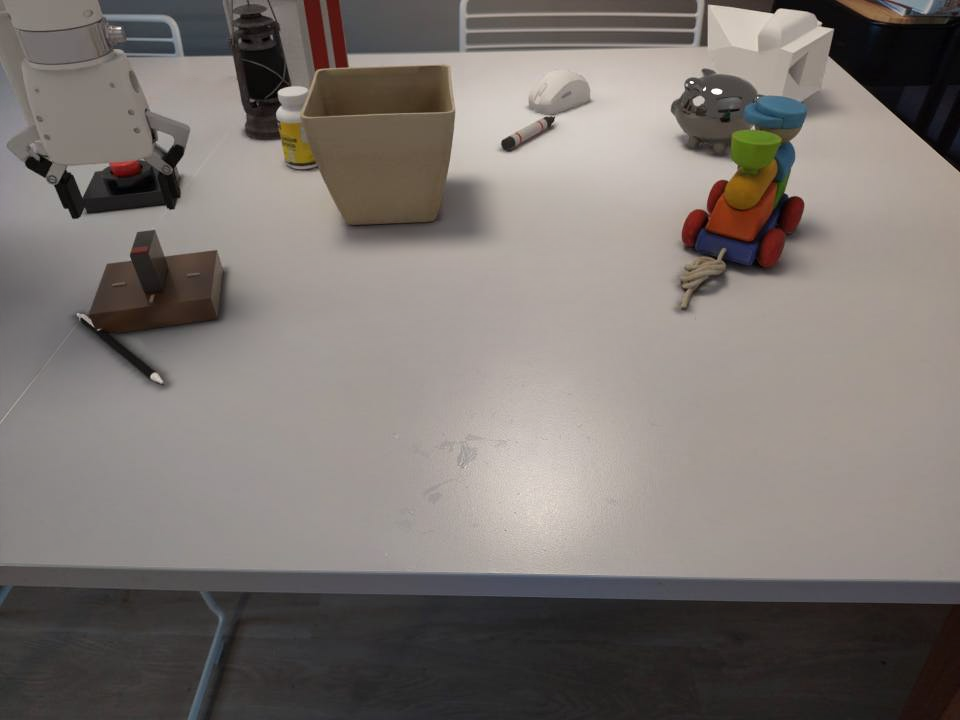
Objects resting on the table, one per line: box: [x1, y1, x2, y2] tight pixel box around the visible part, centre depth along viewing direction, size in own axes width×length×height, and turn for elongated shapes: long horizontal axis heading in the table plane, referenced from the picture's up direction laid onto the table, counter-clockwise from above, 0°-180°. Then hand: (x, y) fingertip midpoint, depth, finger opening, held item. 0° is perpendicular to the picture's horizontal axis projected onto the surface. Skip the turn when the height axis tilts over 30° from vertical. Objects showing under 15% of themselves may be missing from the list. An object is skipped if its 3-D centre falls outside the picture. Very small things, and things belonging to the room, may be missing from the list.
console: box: [88, 249, 224, 335], centre depth 81 cm, size 13×11×3 cm
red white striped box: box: [221, 0, 350, 102], centre depth 133 cm, size 16×18×27 cm
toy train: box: [679, 95, 809, 310], centre depth 83 cm, size 12×29×17 cm, turn 147°
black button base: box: [82, 159, 180, 214], centre depth 104 cm, size 12×10×4 cm
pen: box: [76, 312, 164, 385], centre depth 75 cm, size 1×19×1 cm, turn 49°
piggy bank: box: [670, 67, 765, 156], centre depth 112 cm, size 11×15×12 cm
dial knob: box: [129, 229, 168, 293], centre depth 78 cm, size 6×2×5 cm, turn 13°
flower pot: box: [300, 63, 456, 226], centre depth 95 cm, size 19×19×17 cm
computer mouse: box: [528, 68, 591, 116], centre depth 130 cm, size 6×13×6 cm, turn 132°
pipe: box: [0, 0, 49, 157], centre depth 109 cm, size 6×6×30 cm
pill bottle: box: [276, 86, 318, 170], centre depth 109 cm, size 6×6×12 cm
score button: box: [108, 160, 141, 176], centre depth 102 cm, size 4×4×2 cm
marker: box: [500, 115, 556, 151], centre depth 119 cm, size 15×2×2 cm, turn 143°
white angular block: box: [707, 4, 835, 103], centre depth 129 cm, size 17×24×17 cm
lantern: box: [226, 0, 292, 140], centre depth 115 cm, size 12×11×30 cm
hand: (126, 208), depth 75 cm, fingers open, 9 cm apart
